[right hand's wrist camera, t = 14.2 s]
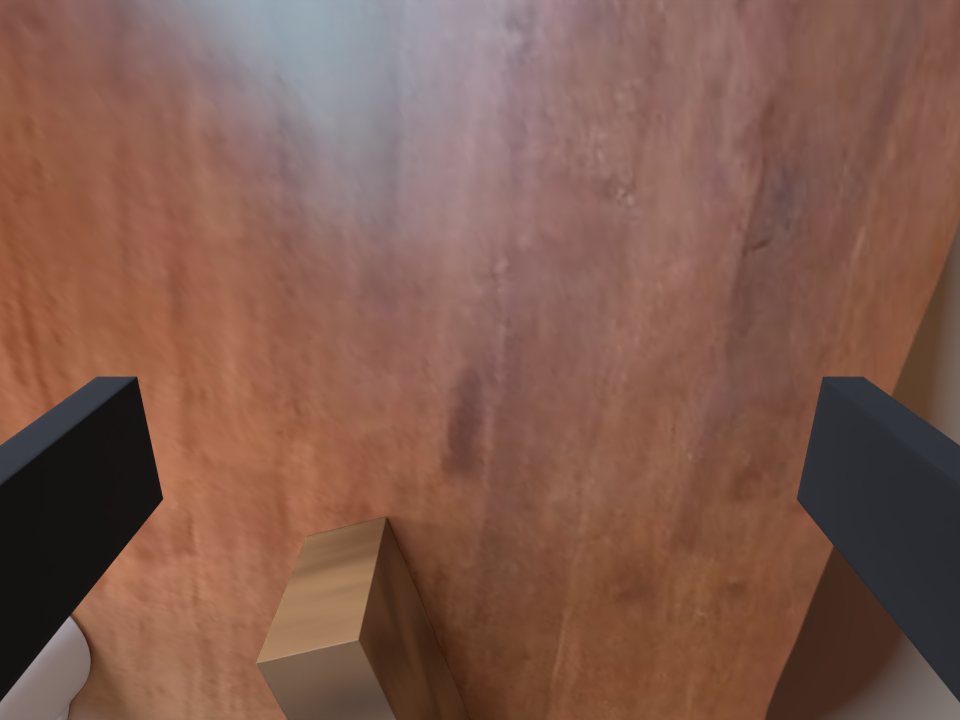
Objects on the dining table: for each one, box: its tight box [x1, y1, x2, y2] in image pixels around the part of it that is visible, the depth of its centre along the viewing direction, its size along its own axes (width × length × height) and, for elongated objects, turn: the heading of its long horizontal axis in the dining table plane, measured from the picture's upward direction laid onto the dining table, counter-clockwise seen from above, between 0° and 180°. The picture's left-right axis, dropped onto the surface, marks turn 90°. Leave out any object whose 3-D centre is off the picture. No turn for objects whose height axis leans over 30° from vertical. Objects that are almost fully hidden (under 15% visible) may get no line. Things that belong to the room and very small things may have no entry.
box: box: [256, 517, 470, 720], centre depth 47 cm, size 25×6×12 cm, turn 16°
